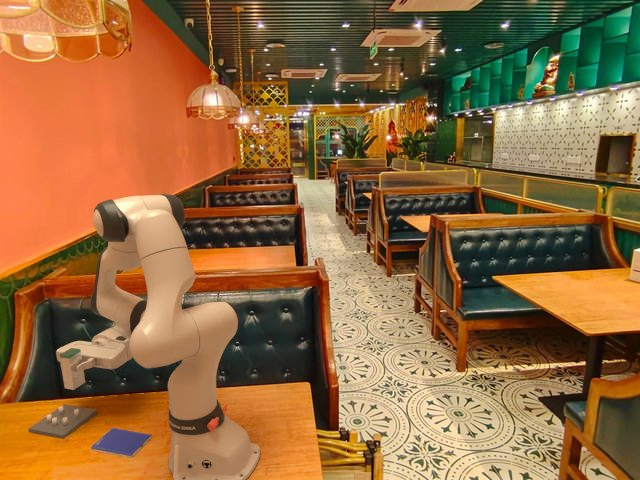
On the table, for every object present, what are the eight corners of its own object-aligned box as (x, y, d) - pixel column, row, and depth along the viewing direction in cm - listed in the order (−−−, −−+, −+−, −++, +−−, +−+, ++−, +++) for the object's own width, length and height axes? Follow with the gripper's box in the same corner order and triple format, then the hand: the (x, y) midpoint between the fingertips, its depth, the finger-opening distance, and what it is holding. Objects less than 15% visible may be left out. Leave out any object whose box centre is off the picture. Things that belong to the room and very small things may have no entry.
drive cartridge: (85, 382, 119) (80, 349, 117) (73, 389, 115) (68, 355, 113) (76, 380, 120) (71, 347, 118) (64, 388, 116) (59, 354, 114)
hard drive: (90, 446, 110) (131, 454, 107) (113, 427, 118) (151, 433, 115) (91, 452, 111) (131, 460, 107) (113, 432, 118) (152, 439, 115)
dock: (97, 412, 126) (96, 403, 126) (63, 438, 115) (62, 428, 114) (64, 407, 130) (63, 398, 129) (28, 431, 118) (27, 422, 118)
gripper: (77, 332, 131) (37, 353, 118) (134, 339, 125) (98, 362, 112) (80, 351, 132) (41, 374, 119) (136, 359, 126) (101, 383, 113)
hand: (69, 368), depth 115 cm, fingers closed on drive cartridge, 3 cm apart
